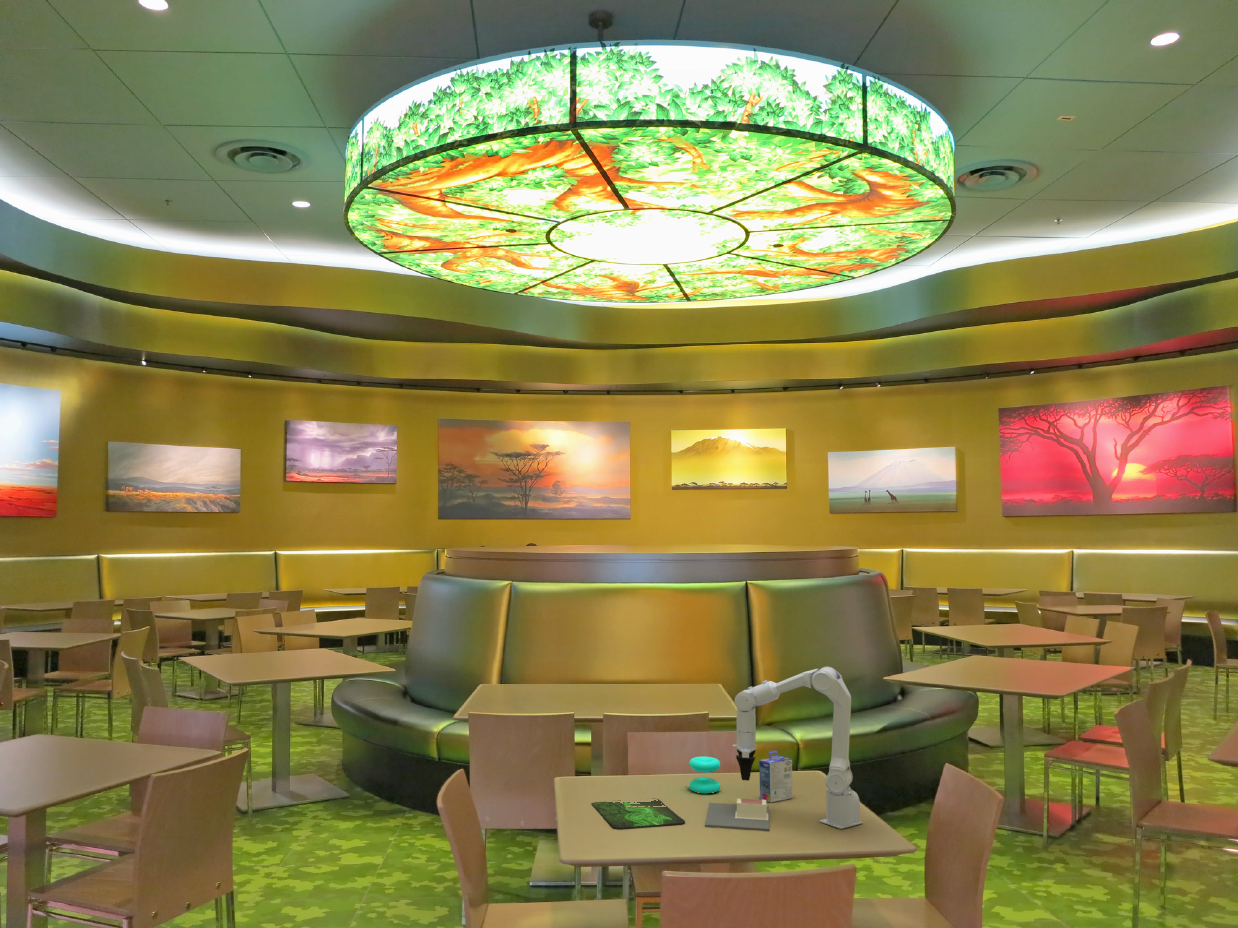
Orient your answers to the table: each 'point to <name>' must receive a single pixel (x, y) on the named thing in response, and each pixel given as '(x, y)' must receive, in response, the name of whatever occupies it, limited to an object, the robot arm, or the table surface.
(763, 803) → the card deck
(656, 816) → the mouse mat
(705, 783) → the donuts
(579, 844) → the table surface
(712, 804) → the mat
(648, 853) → the table surface
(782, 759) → the ink cartridge box
